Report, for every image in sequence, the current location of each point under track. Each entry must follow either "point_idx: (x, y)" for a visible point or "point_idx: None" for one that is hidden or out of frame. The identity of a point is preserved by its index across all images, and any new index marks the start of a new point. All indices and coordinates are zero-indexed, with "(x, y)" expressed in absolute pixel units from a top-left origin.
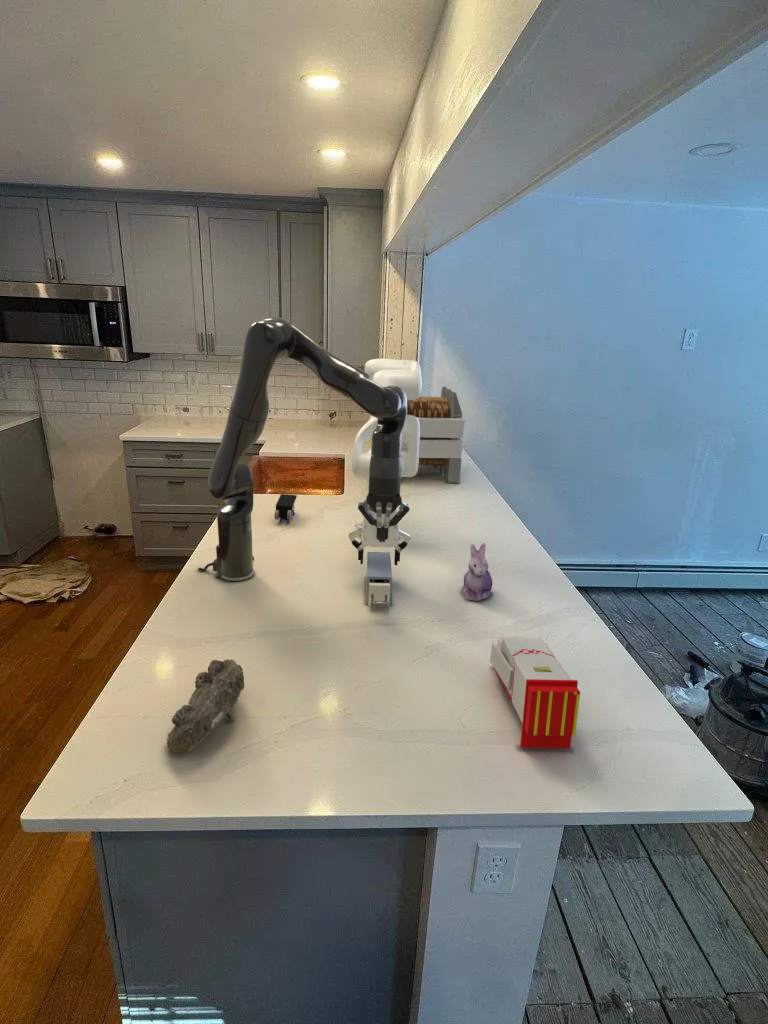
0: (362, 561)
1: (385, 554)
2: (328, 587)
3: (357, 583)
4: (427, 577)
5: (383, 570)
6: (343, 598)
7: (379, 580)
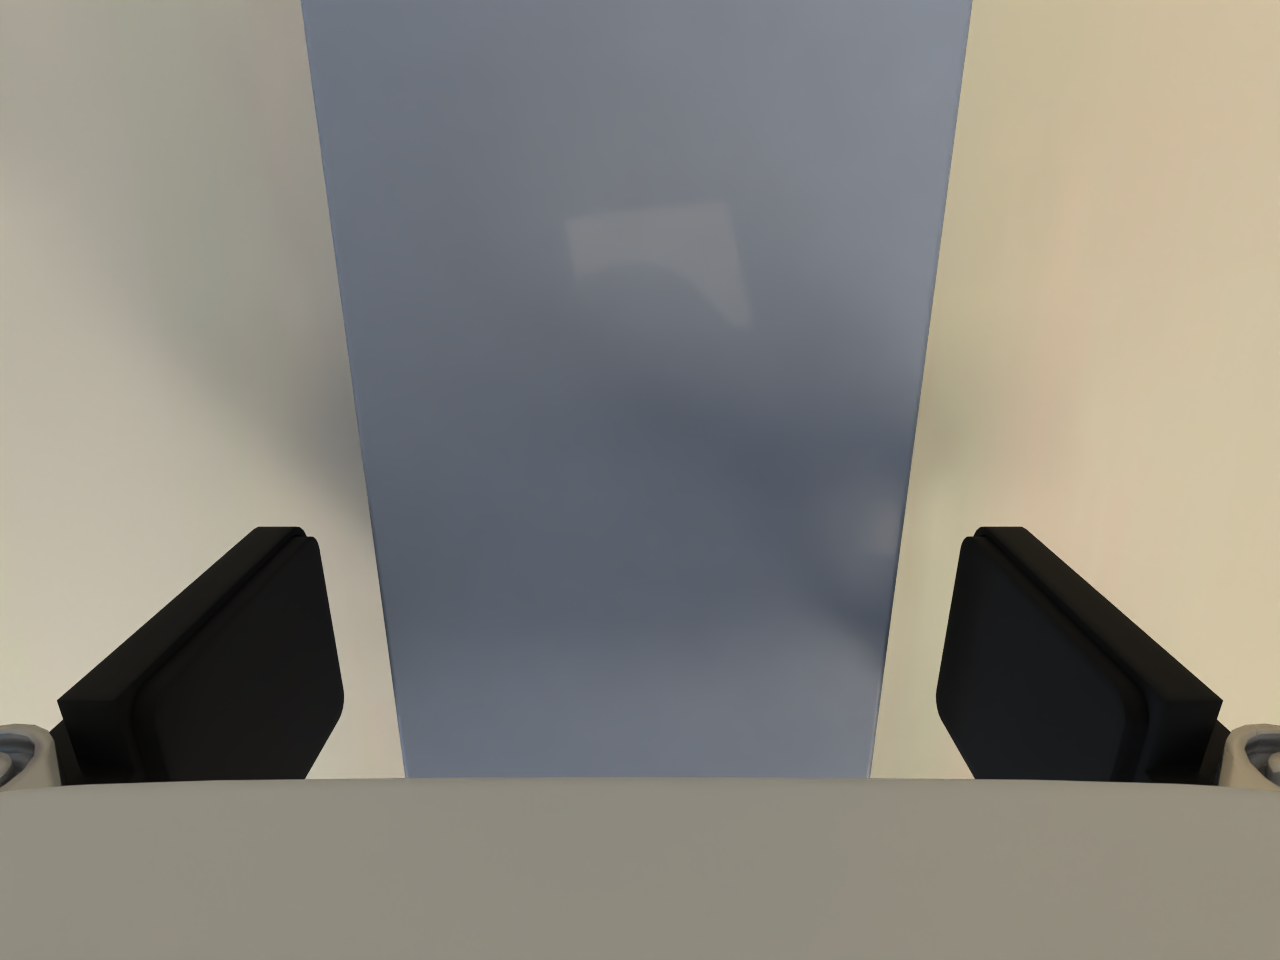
0: (1002, 556)
1: None
2: (1248, 387)
3: None
4: None
5: (525, 62)
6: (1109, 85)
7: None
